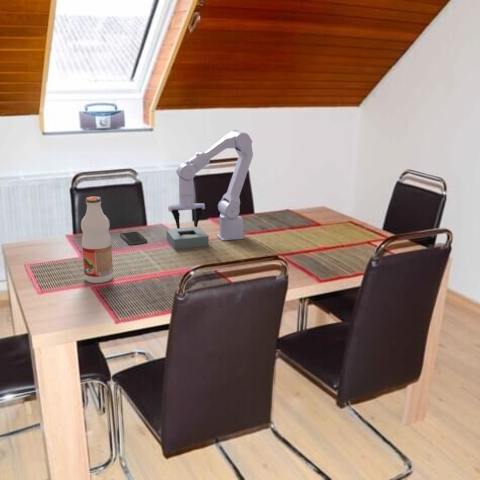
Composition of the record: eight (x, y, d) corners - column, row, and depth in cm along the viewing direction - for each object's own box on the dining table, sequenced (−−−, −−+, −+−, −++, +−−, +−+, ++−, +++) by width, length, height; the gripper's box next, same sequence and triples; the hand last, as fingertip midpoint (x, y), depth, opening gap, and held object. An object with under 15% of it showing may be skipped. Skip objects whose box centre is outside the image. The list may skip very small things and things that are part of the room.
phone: (129, 243, 221) (119, 233, 234) (129, 246, 222) (119, 236, 234) (148, 241, 225) (137, 231, 237) (148, 243, 225) (137, 233, 238)
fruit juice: (111, 283, 184) (106, 201, 175) (82, 284, 183) (75, 201, 174) (114, 273, 193) (109, 194, 184) (87, 273, 192) (80, 194, 183)
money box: (199, 235, 235) (199, 226, 233) (208, 245, 222) (208, 236, 221) (166, 238, 230) (166, 229, 229) (174, 249, 218) (174, 239, 216)
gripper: (170, 197, 214) (171, 231, 218) (206, 195, 219) (207, 228, 223) (166, 193, 220) (167, 226, 224) (201, 191, 225) (202, 223, 229)
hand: (187, 227), depth 224 cm, fingers open, 7 cm apart
